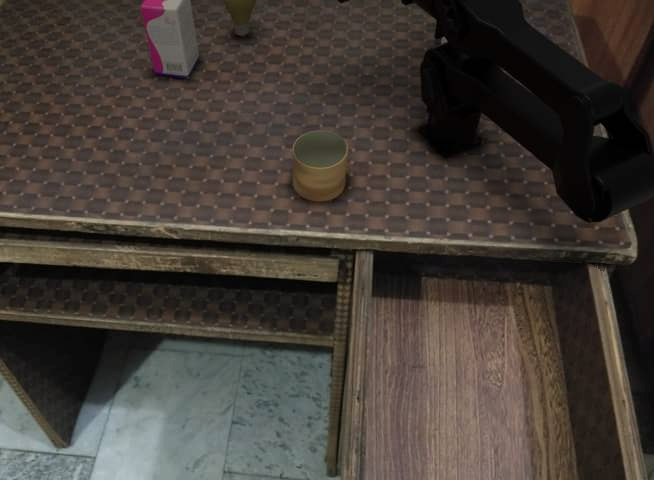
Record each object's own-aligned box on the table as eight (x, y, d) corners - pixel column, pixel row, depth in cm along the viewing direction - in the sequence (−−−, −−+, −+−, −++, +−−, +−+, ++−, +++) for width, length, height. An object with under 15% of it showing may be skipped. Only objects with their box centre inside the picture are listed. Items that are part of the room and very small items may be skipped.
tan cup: (355, 190, 84) (358, 156, 79) (307, 208, 82) (308, 175, 77) (329, 157, 87) (331, 123, 82) (284, 174, 86) (283, 140, 81)
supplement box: (200, 57, 102) (190, -12, 93) (188, 79, 99) (176, 11, 90) (167, 53, 103) (153, -16, 94) (154, 75, 100) (138, 7, 91)
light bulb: (256, 45, 103) (252, -14, 95) (223, 44, 104) (216, -15, 95) (261, 25, 106) (258, -34, 98) (229, 24, 107) (223, -35, 98)
